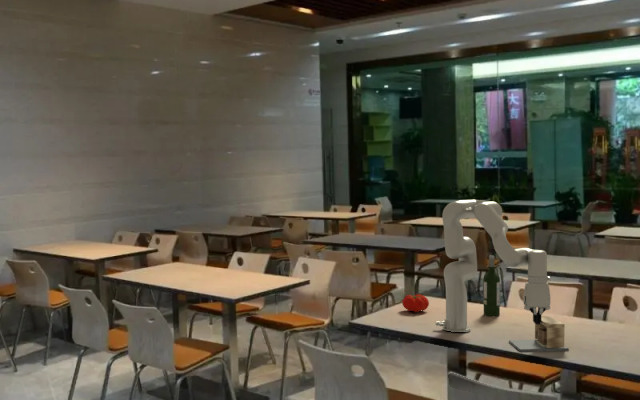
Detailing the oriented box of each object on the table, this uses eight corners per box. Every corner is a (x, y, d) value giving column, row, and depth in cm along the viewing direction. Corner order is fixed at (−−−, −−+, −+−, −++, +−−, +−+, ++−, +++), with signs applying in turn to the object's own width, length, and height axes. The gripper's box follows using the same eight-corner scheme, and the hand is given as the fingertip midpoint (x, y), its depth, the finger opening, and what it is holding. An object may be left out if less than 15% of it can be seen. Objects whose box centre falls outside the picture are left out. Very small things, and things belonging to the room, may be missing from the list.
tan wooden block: (547, 347, 272) (547, 324, 271) (534, 338, 286) (534, 316, 285) (564, 347, 272) (564, 323, 271) (550, 338, 286) (551, 316, 286)
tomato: (401, 314, 341) (401, 297, 341) (402, 309, 354) (402, 292, 353) (428, 315, 339) (428, 297, 339) (429, 309, 351) (428, 293, 351)
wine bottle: (482, 313, 342) (482, 254, 340) (498, 313, 341) (498, 254, 339) (484, 316, 334) (484, 256, 333) (500, 316, 333) (500, 257, 331)
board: (520, 351, 271) (520, 342, 271) (508, 342, 286) (508, 333, 285) (568, 350, 272) (568, 341, 272) (554, 341, 286) (554, 332, 286)
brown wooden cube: (543, 345, 276) (543, 332, 275) (537, 341, 282) (537, 328, 282) (558, 344, 276) (558, 331, 276) (552, 340, 282) (552, 327, 282)
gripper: (551, 278, 281) (551, 321, 282) (516, 278, 281) (516, 321, 282) (558, 281, 274) (558, 325, 275) (522, 281, 273) (522, 326, 274)
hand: (537, 323), depth 278 cm, fingers closed
